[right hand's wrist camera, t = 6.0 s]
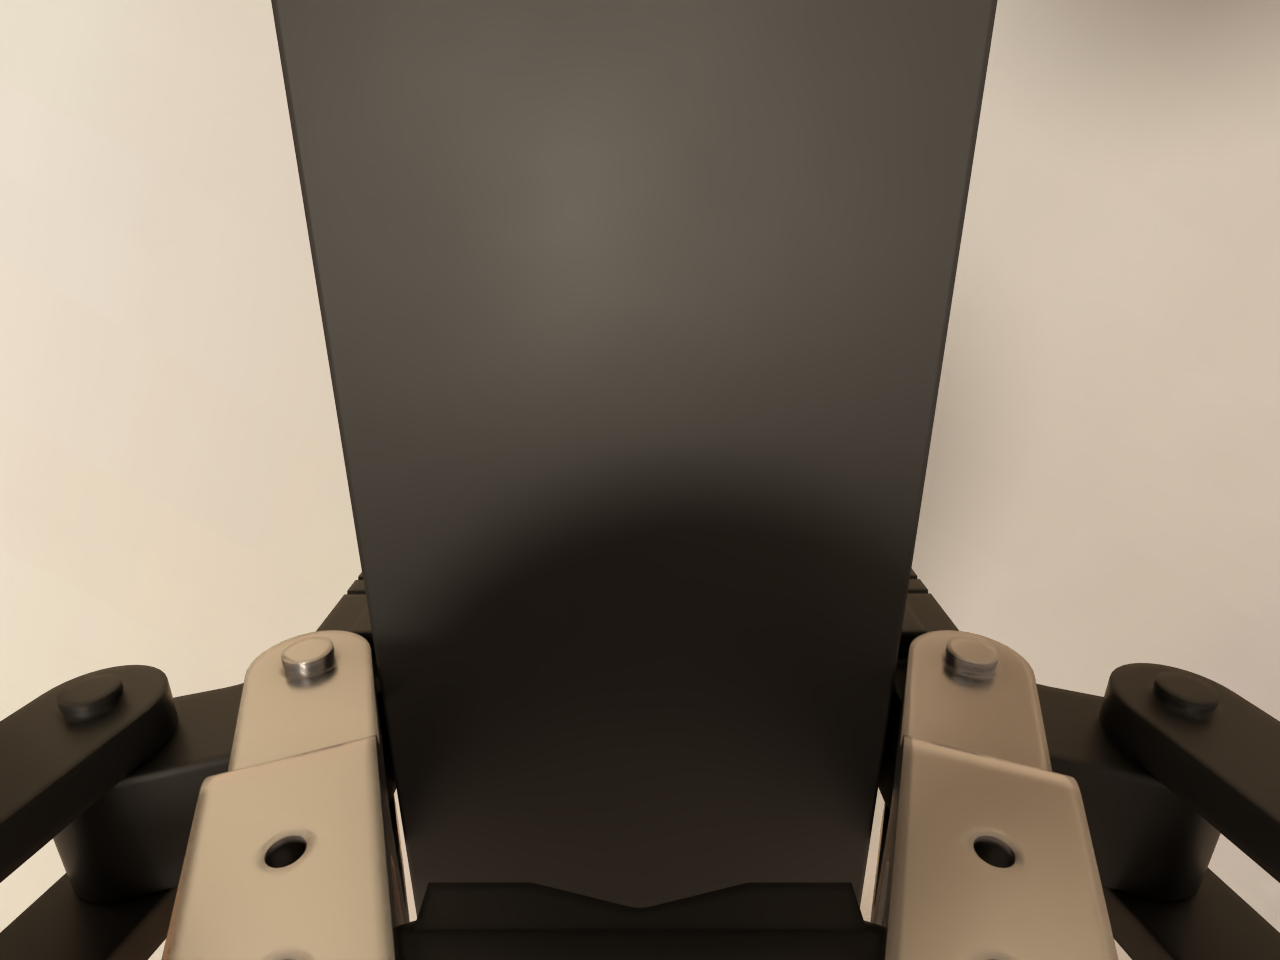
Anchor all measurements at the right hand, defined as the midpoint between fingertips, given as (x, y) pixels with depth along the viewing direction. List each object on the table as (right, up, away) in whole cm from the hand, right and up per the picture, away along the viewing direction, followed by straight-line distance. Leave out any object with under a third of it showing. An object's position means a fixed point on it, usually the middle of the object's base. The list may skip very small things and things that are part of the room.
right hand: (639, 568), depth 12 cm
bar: (0, +11, 0) cm, 11 cm away
